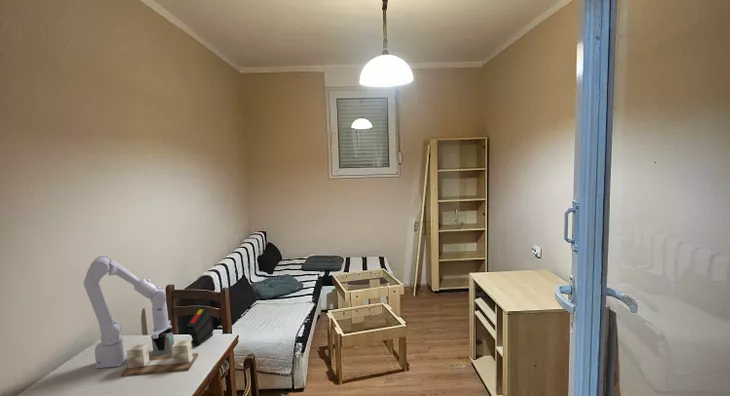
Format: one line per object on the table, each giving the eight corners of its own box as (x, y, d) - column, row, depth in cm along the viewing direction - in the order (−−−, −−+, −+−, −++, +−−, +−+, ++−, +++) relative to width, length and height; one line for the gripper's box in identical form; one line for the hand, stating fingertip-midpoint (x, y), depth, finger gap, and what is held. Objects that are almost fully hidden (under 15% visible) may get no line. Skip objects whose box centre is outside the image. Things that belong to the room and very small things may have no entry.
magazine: (217, 329, 192) (206, 306, 184) (203, 352, 181) (190, 329, 174) (210, 328, 193) (199, 306, 185) (195, 352, 182) (183, 329, 175)
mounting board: (121, 376, 157) (119, 355, 156) (136, 360, 169) (133, 341, 168) (188, 370, 159) (186, 349, 158) (198, 355, 171) (196, 336, 170)
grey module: (153, 354, 174) (151, 338, 173) (157, 349, 178) (156, 333, 177) (170, 352, 174) (169, 337, 174) (174, 347, 179) (173, 332, 178)
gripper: (163, 323, 168) (166, 354, 169) (176, 309, 182) (179, 339, 184) (145, 324, 167) (149, 356, 169) (159, 311, 182) (163, 340, 183)
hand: (163, 347), depth 176 cm, fingers closed on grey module, 4 cm apart
